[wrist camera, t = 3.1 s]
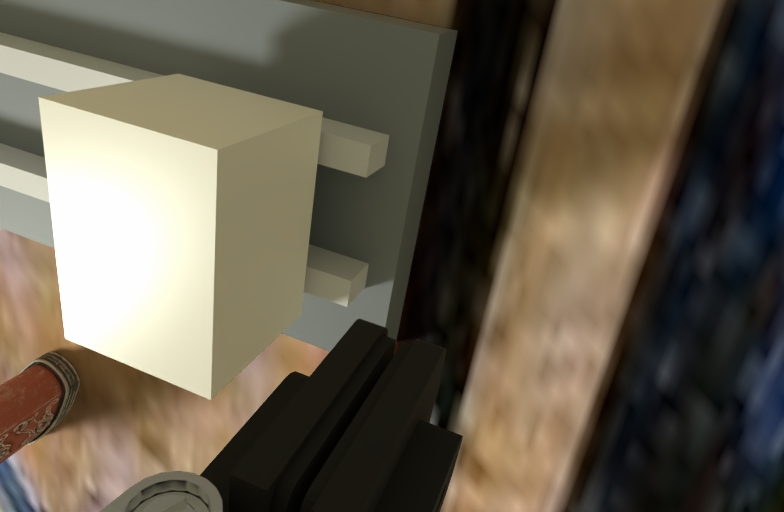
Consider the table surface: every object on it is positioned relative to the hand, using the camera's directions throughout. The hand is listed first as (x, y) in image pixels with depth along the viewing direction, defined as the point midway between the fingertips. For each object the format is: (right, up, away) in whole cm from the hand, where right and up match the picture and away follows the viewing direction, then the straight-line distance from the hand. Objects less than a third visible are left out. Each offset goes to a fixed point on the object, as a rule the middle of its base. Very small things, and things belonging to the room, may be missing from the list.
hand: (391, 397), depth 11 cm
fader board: (-11, +8, +14) cm, 19 cm away
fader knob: (-4, +5, +10) cm, 12 cm away
